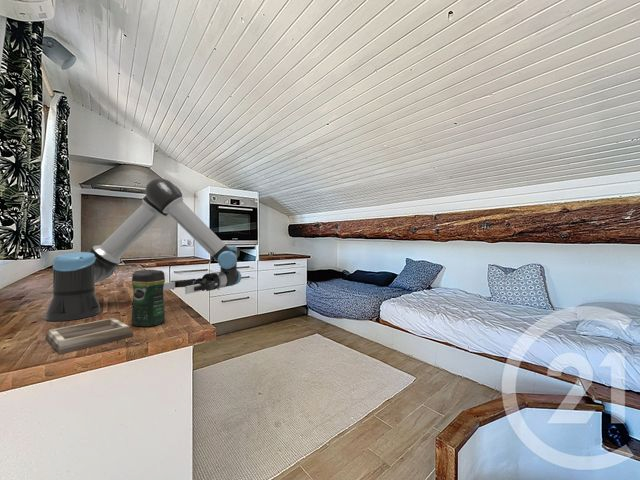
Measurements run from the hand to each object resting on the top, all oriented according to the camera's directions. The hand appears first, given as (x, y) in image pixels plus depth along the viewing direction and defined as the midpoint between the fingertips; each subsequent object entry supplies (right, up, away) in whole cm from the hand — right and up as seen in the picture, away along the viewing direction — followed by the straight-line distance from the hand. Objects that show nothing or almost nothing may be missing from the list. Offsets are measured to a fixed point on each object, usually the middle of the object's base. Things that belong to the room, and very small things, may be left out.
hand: (172, 288), depth 102 cm
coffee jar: (-4, -11, -8) cm, 14 cm away
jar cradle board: (-12, -10, -22) cm, 27 cm away
